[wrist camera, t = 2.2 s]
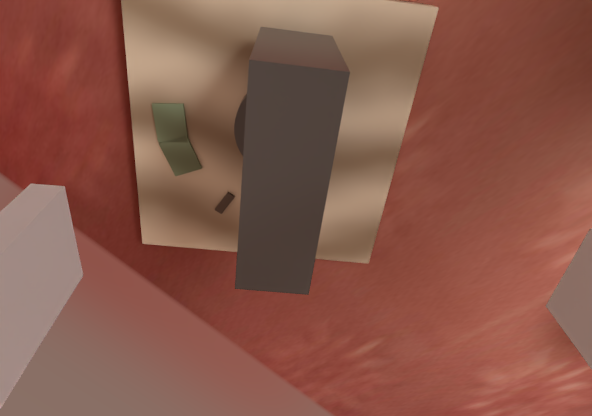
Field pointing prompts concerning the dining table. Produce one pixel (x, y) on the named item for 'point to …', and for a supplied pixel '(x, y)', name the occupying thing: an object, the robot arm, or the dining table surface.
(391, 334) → the dining table surface
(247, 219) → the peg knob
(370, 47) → the board
